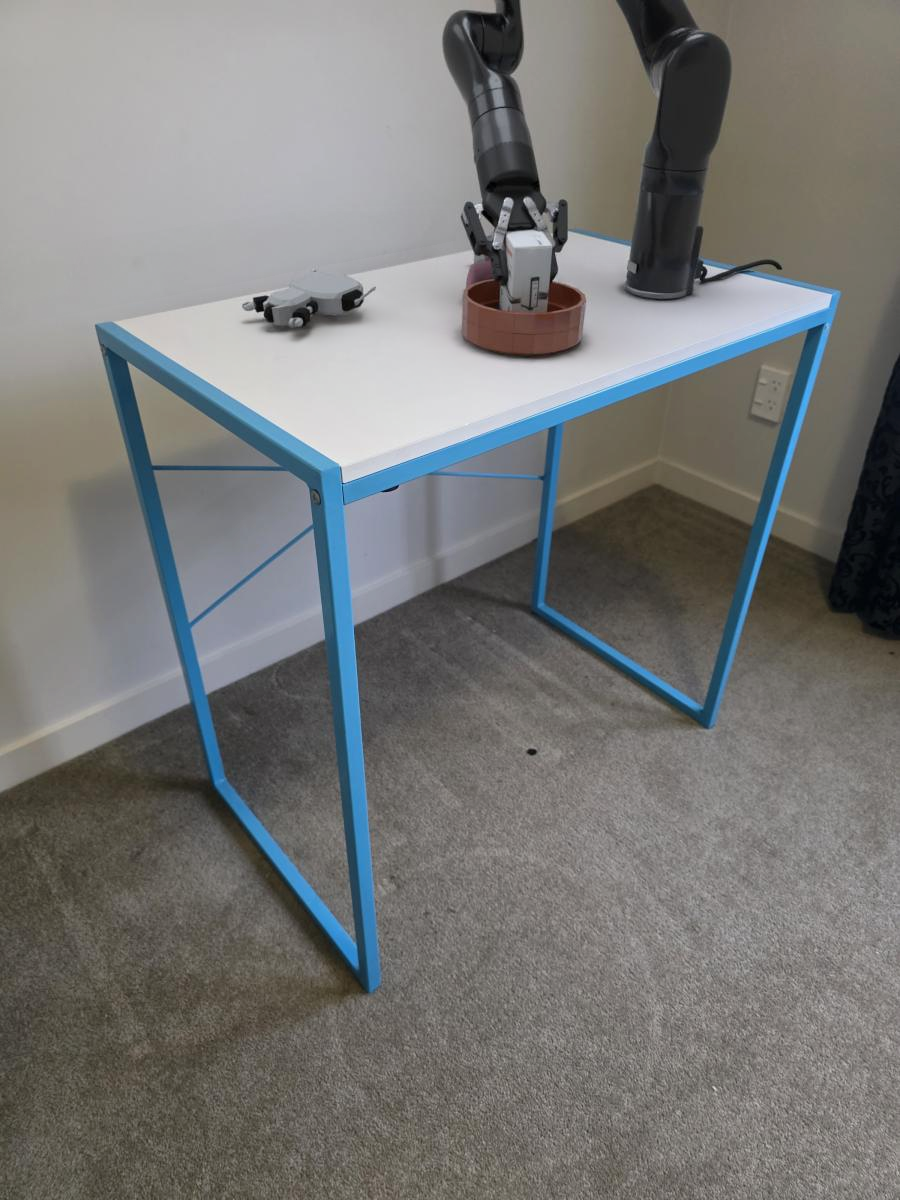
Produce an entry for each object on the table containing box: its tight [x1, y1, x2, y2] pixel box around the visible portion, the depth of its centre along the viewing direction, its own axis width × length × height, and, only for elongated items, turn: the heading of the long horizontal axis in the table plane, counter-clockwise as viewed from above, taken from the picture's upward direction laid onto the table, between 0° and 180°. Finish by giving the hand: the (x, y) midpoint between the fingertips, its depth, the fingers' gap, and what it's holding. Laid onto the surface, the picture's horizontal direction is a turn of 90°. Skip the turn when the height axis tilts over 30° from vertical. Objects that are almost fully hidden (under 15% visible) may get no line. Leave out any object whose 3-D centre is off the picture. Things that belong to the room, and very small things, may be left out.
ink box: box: [499, 229, 552, 313], centre depth 109 cm, size 9×5×12 cm, turn 6°
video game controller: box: [465, 258, 494, 289], centre depth 124 cm, size 10×5×7 cm, turn 84°
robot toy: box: [241, 269, 377, 329], centre depth 116 cm, size 12×4×15 cm
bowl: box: [461, 279, 587, 356], centre depth 111 cm, size 16×16×6 cm
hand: (527, 281), depth 108 cm, fingers closed on ink box, 5 cm apart
